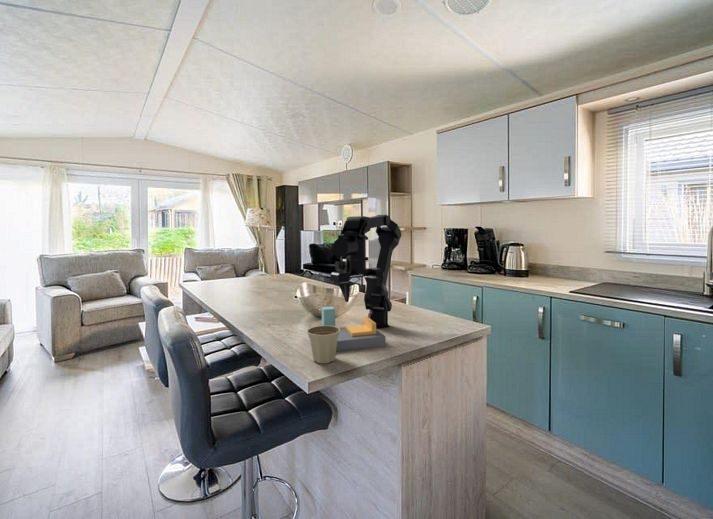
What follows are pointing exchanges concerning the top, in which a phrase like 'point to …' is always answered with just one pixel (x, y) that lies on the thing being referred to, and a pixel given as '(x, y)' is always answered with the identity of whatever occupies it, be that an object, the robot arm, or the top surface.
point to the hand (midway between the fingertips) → (357, 299)
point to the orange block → (362, 328)
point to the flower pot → (323, 343)
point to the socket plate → (358, 340)
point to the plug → (328, 316)
